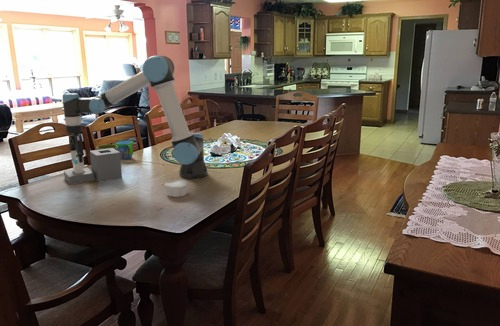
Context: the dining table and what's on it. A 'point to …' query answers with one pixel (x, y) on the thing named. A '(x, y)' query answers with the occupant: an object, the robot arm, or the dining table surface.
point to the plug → (76, 167)
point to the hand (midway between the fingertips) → (78, 165)
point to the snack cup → (125, 149)
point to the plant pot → (107, 147)
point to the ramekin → (176, 188)
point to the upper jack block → (106, 164)
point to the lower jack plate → (79, 176)
